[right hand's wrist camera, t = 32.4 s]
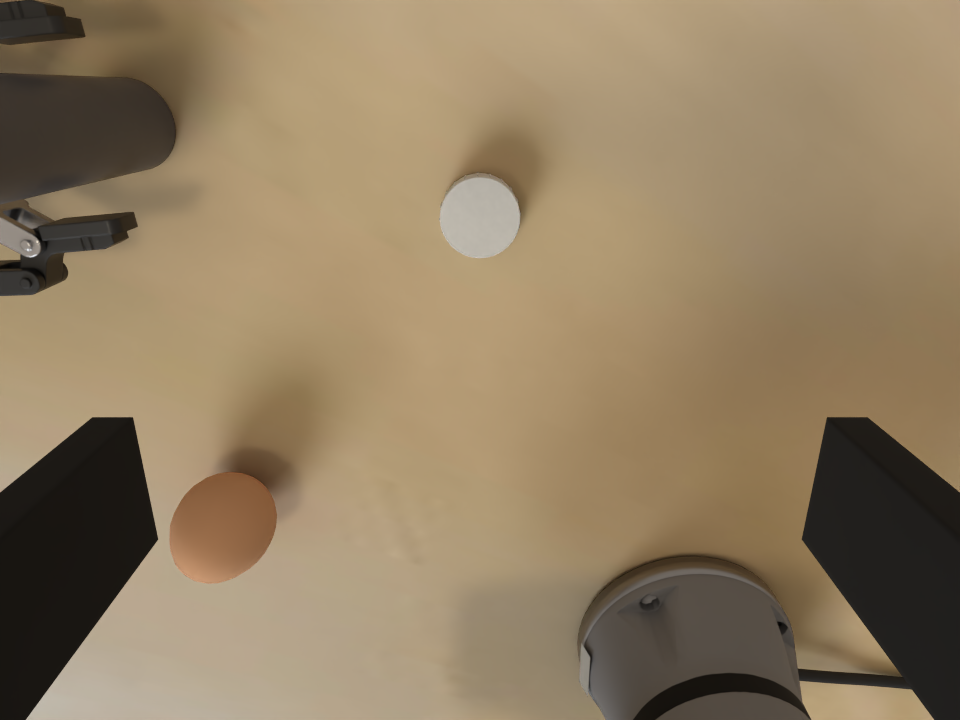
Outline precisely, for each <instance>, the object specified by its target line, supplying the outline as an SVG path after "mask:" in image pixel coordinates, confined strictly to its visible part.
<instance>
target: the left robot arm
mask: <svg viewBox="0 0 960 720" xmlns="http://www.w3.org/2000/svg"><path fill="white" fill-rule="evenodd" d="M82 37H85V33H84V29H83V26H82V22H81V19H77V18H72V17H66V15H65V11H64V8H63V7H60V6H56V5H53V4H49V3H45V2H40V1H35V0H24V1H15V2H5V3H0V44H7V45H13V44H23V43H33V42H43V41H53V40H63V39H72V38H82ZM135 227H138V225H137V222H136V218H135V215H134V212H125V213H115V214H104V215H93V216H82V217H71V218H63V219H60V220H57V221H54V220H52V219H50V218H48V217H47V216H45V215H43V214H41V213H39V212H37V211H36V210H34V209H32V208H30V207H29V203H28V202H27V201H26V200H25V199H21V200H17V201H12V202H8V203H4V204H0V243H1V244H2V245H4V246H6V247H8V248H10V249H12V250H14V251H16V252H18V253H19V254H21V260H3V261H0V296H13V295H33V294H36V293H38V292H40V291H42V290H44V289H47V288H49V287H51V286H53V285H55V284H57V283H60V282H62V281H64V280H65V279H66V278H67V276H68V270H67V267H66V266H65V264H64V263H63V256H64V253H65V252H76V251H85V250H86V251H87V250H98V249H106V248H108V247H111V246H113V245H116V244H118V243H120V242H122V241H124V240H126V239H127V238H129V237H128V234H127V231H128V230H130V229H133V228H135Z"/></svg>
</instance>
